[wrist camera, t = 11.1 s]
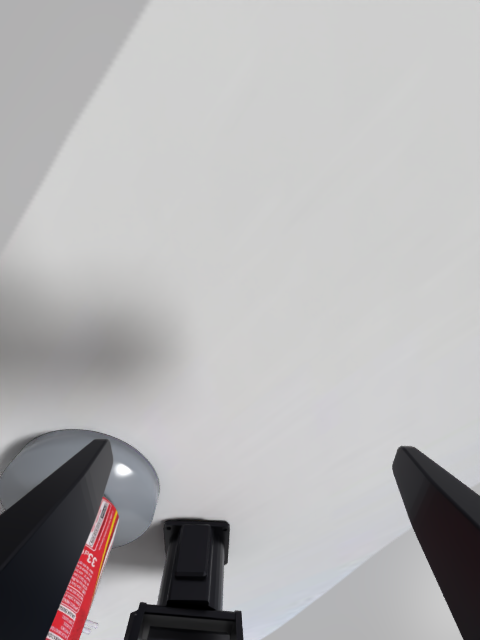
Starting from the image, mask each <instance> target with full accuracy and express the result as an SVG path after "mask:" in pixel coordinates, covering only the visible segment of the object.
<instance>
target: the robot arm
mask: <svg viewBox="0 0 480 640" xmlns="http://www.w3.org/2000/svg"><path fill="white" fill-rule="evenodd" d="M112 466H113V453H112V448H111V442H110V440H109V439H104V438H96V439H94V440H93V441H91V442H90V443H89V444H88V445H86V446H85V447H84V448H83V449H81V450H80V451H79V452H78V453H76V454H75V455H74V456H73V457H71V458H70V459H69V460H68V461H66V462H65V463H64V464H63V465H62V466H60V467H59V468H58V469H57V470H55V471H54V472H53V473H52V474H50V475H49V476H48V477H47V478H45V479H44V480H43V481H42V482H40V483H39V484H38V485H37V486H35V487H34V488H33V489H32V490H31V491H29V492H28V493H27V494H26V495H24V496H23V497H22V498H21V499H19V500H18V501H17V502H16V503H14V504H13V505H12V506H11V507H9V508H8V509H7V510H6V511H4V512H3V513H2V514H1V515H0V640H46V637H47V635H48V633H49V630H50V628H51V625H52V623H53V621H54V618H55V616H56V613H57V611H58V609H59V606H60V604H61V602H62V599H63V597H64V594H65V592H66V590H67V587H68V585H69V582H70V580H71V578H72V575H73V573H74V571H75V568H76V566H77V563H78V561H79V559H80V556H81V554H82V551H83V549H84V547H85V544H86V542H87V540H88V537H89V535H90V532H91V530H92V528H93V525H94V522H95V520H96V517H97V514H98V511H99V508H100V505H101V501H102V498H103V495H104V492H105V488H106V485H107V482H108V479H109V476H110V472H111V469H112ZM392 469H393V474H394V477H395V479H396V482H397V485H398V488H399V491H400V494H401V497H402V499H403V502H404V505H405V508H406V511H407V514H408V517H409V519H410V522H411V525H412V527H413V529H414V532H415V534H416V536H417V538H418V540H419V543H420V545H421V547H422V549H423V552H424V554H425V556H426V558H427V560H428V562H429V565H430V567H431V569H432V571H433V573H434V575H435V578H436V580H437V582H438V585H439V587H440V589H441V591H442V593H443V596H444V598H445V600H446V602H447V604H448V607H449V609H450V611H451V613H452V615H453V618H454V620H455V622H456V624H457V626H458V628H459V631H460V633H461V635H462V637H463V639H464V640H480V496H479V495H478V494H477V493H475V492H474V491H473V490H471V489H470V488H469V487H467V486H466V485H465V484H463V483H462V482H461V481H459V480H458V479H457V478H455V477H454V476H453V475H451V474H450V473H449V472H447V471H446V470H445V469H443V468H442V467H441V466H439V465H438V464H437V463H435V462H434V461H433V460H431V459H430V458H429V457H427V456H426V455H424V454H423V453H422V452H420V451H419V450H418V449H416V448H415V447H412V446H400V447H399V448H398V450H397V453H396V456H395V459H394V461H393V465H392ZM229 532H230V525H229V524H228V523H226V522H192V521H166V522H165V524H164V539H165V552H166V561H165V566H164V571H163V576H162V581H161V586H160V591H159V596H158V602H157V605H150V604H146V603H144V602H140V605H139V609H138V610H137V611H134V612H132V613H131V614H130V618H129V622H128V626H127V630H126V633H125V637H124V640H243V628H242V614H241V611H235V612H230V611H222V606H223V579H224V565H226V564H227V563H228V548H229Z"/></svg>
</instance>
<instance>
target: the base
mask: <svg viewBox="0 0 480 640" xmlns="http://www.w3.org/2000/svg"><path fill="white" fill-rule="evenodd" d="M96 438H104V439H109V440H110V442H111V448H112V453H113V466H112V469H111V472H110V476H109V479H108V482H107V485H106V488H105V492H104V495H105V496H106V497H107V498H108V500H109V501H110V502H111V503H112V504H113V505H114V507H115V508H116V510H117V512H118V515H119V522H118V526H117V530H116V534H115V537H114V541H113V545H112V548H116V547H119V546H123V545H125V544H128V543H130V542H132V541H134V540H136V539H137V538H138V537H140V536H141V535H142V534H143V533H144V532H145V531H146V530H147V529H148V527H149V526H150V524H151V522H152V520H153V516H154V512H155V508H156V505H157V501H158V497H159V492H160V485H159V479H158V476H157V474H156V472H155V470H154V468H153V466H152V465H151V464H150V462H149V461H148V460H147V459H146V458H145V457H144V456H143V455H142V454H141V453H140V452H139V451H137V450H136V449H135V448H133V447H132V446H130V445H129V444H127V443H125V442H123V441H121V440H119V439H117V438H114V437H112V436H109V435H106V434H102V433H99V432H93V431H88V430H60V431H54V432H50V433H47V434H44V435H41V436H39V437H37V438H35V439H33V440H32V441H31V442H29V443H28V444H27V445H26V446H25V447H24V448H23V449H22V450H21V451H20V452H19V454H18V455H17V456H16V457H15V458H14V460H13V461H12V462H11V463H10V464H9V466H8V467H7V468H6V469H5V470H4V472H3V474H2V475H1V478H0V501H1V504H2V506H3V508H4V509H5V511H6V510H7V509H8V508H9V507H11V506H12V505H13V504H14V503H16V502H17V501H18V500H19V499H21V498H22V497H23V496H24V495H26V494H27V493H28V492H29V491H31V490H32V489H33V488H34V487H35V486H37V485H38V484H39V483H40V482H42V481H43V480H44V479H45V478H47V477H48V476H49V475H50V474H52V473H53V472H54V471H55V470H57V469H58V468H59V467H60V466H62V465H63V464H64V463H65V462H66V461H68V460H69V459H70V458H71V457H73V456H74V455H75V454H76V453H78V452H79V451H80V450H81V449H83V448H84V447H85V446H86V445H88V444H89V443H90V442H91V441H93V440H94V439H96Z"/></svg>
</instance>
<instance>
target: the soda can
mask: <svg viewBox="0 0 480 640" xmlns="http://www.w3.org/2000/svg"><path fill="white" fill-rule="evenodd" d="M118 522H119V515H118V512H117V510H116V508H115V507H114V505H113V504H112V503H111V502H110V501H109V500H108V498H107V497H106V496H105V495H103V498H102V501H101V505H100V508H99V511H98V514H97V517H96V520H95V522H94V525H93V528H92V530H91V532H90V535H89V537H88V540H87V542H86V544H85V547H84V549H83V551H82V554H81V556H80V559H79V561H78V563H77V566H76V568H75V571H74V573H73V575H72V578H71V580H70V582H69V585H68V587H67V590H66V592H65V594H64V597H63V599H62V602H61V604H60V606H59V609H58V611H57V613H56V616H55V618H54V621H53V623H52V625H51V628H50V630H49V633H48V635H47V637H46V640H79V638H80V635H81V633H82V630H83V627H84V624H85V622H86V619H87V616H88V613H89V610H90V608H91V605H92V602H93V599H94V596H95V594H96V591H97V588H98V585H99V582H100V579H101V577H102V574H103V571H104V568H105V565H106V562H107V559H108V557H109V554H110V551H111V548H112V545H113V541H114V537H115V534H116V530H117V526H118Z"/></svg>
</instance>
